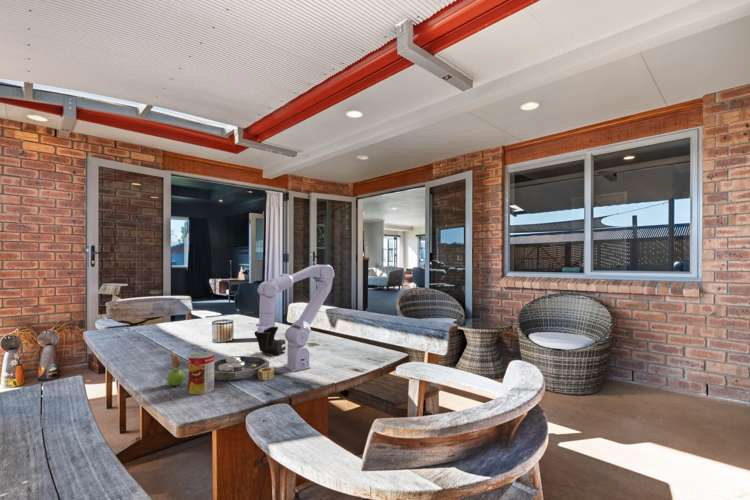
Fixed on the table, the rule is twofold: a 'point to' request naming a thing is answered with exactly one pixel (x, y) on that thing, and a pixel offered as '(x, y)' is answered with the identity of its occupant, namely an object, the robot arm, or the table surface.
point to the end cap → (276, 347)
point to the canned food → (201, 372)
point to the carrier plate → (238, 367)
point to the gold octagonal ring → (266, 373)
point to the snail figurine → (175, 371)
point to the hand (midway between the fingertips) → (266, 348)
